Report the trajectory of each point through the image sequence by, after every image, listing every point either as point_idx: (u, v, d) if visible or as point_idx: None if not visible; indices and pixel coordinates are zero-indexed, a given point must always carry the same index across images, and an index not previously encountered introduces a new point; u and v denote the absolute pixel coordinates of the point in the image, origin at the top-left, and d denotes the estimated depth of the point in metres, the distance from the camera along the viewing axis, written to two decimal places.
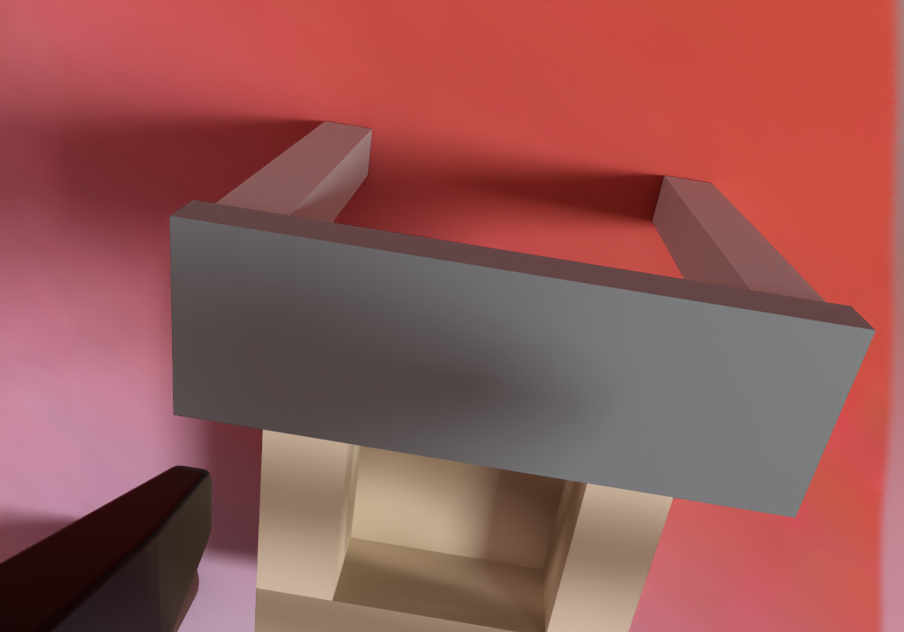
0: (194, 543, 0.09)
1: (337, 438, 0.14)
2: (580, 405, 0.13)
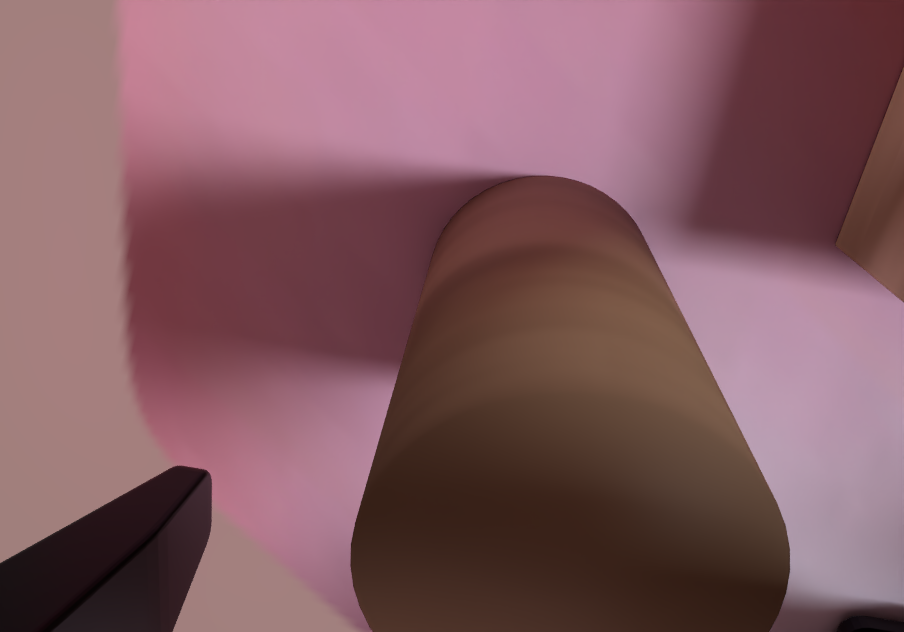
0: (194, 543, 0.09)
1: None
2: None
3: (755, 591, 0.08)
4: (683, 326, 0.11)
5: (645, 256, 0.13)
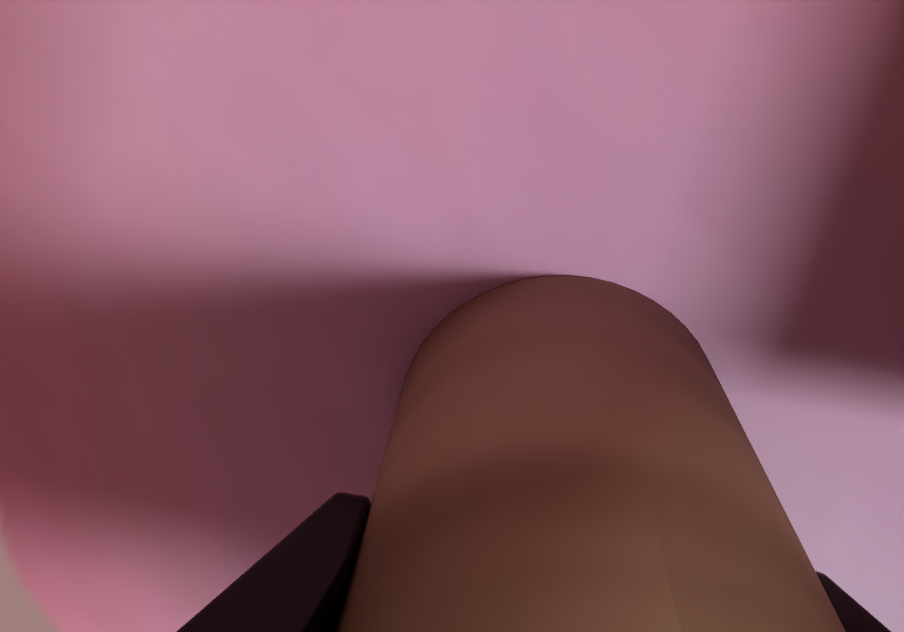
0: None
1: None
2: None
3: None
4: None
5: (734, 436, 0.08)
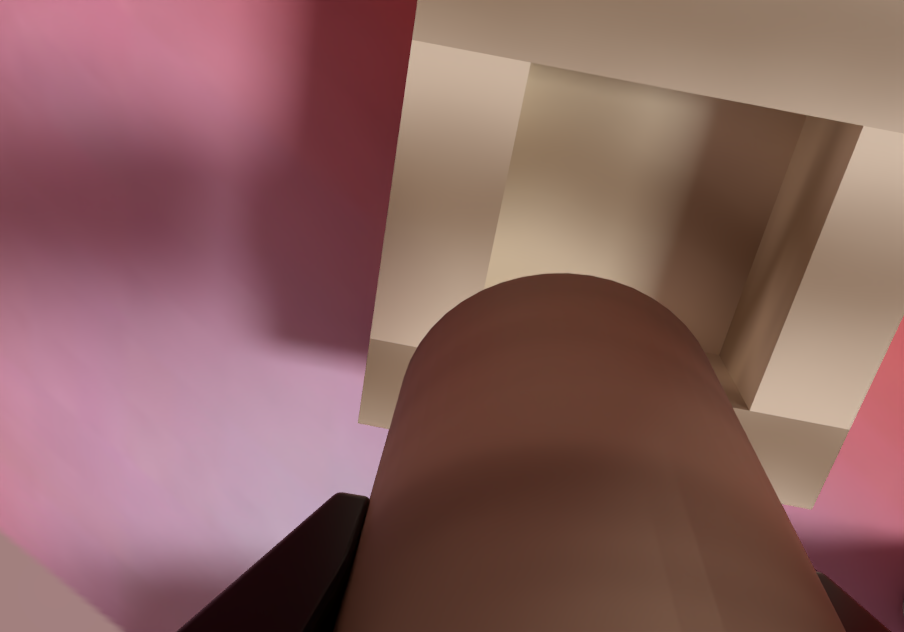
0: None
1: None
2: None
3: None
4: None
5: (733, 433, 0.08)
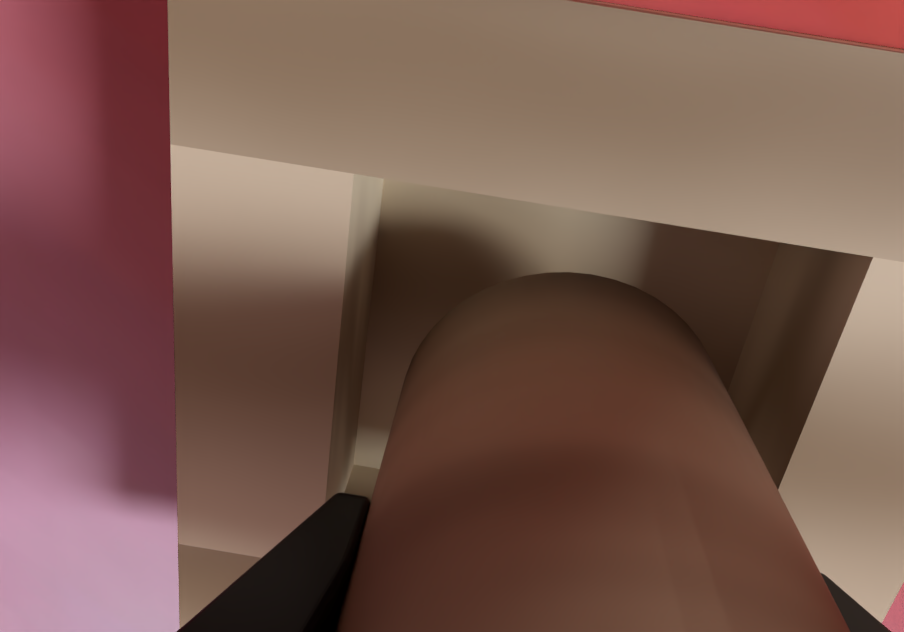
0: None
1: None
2: None
3: None
4: None
5: (736, 432, 0.08)
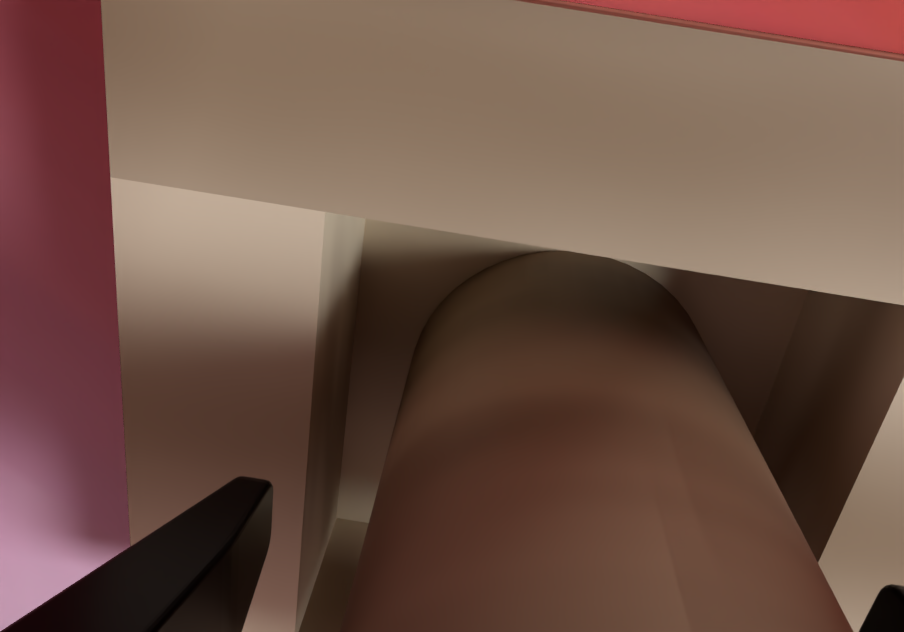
0: (257, 554, 0.09)
1: None
2: None
3: None
4: (804, 550, 0.07)
5: (718, 390, 0.09)
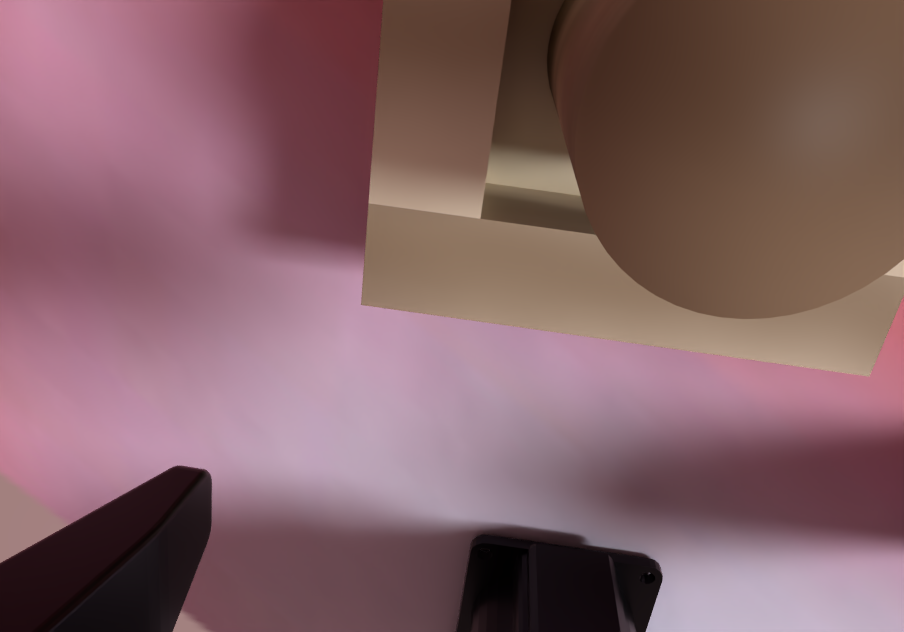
0: (194, 543, 0.09)
1: None
2: None
3: None
4: None
5: None
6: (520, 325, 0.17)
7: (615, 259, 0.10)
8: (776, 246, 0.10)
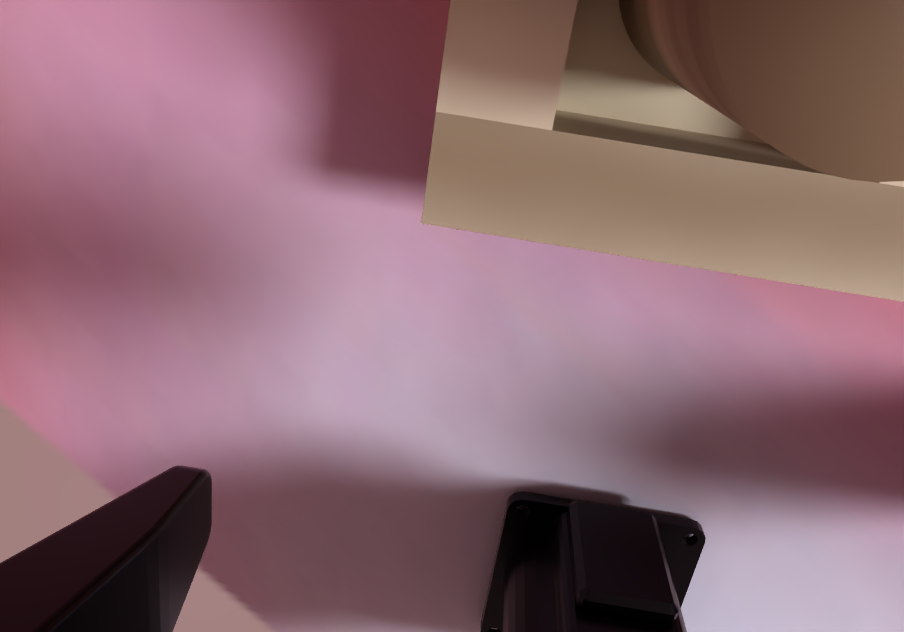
0: (194, 543, 0.09)
1: None
2: None
3: None
4: None
5: None
6: (586, 248, 0.17)
7: (744, 111, 0.10)
8: None
